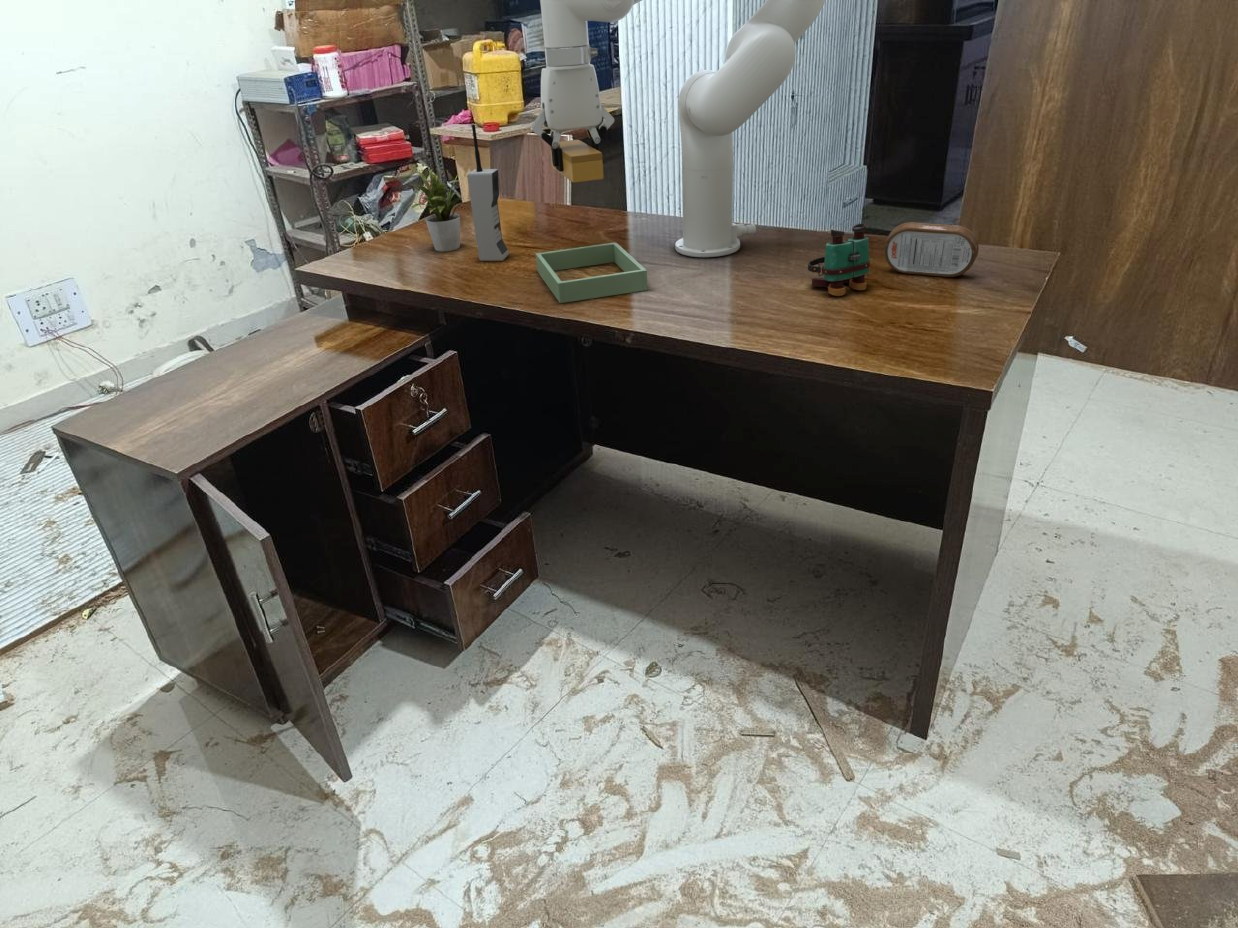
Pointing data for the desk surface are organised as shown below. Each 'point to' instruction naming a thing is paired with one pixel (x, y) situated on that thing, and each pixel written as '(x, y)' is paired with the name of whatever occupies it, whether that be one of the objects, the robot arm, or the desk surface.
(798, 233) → the desk surface
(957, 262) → the tin
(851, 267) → the binoculars
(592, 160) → the tan wooden plank
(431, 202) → the house plant
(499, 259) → the vintage mobile phone
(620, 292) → the green rectangular open frame
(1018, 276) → the desk surface
